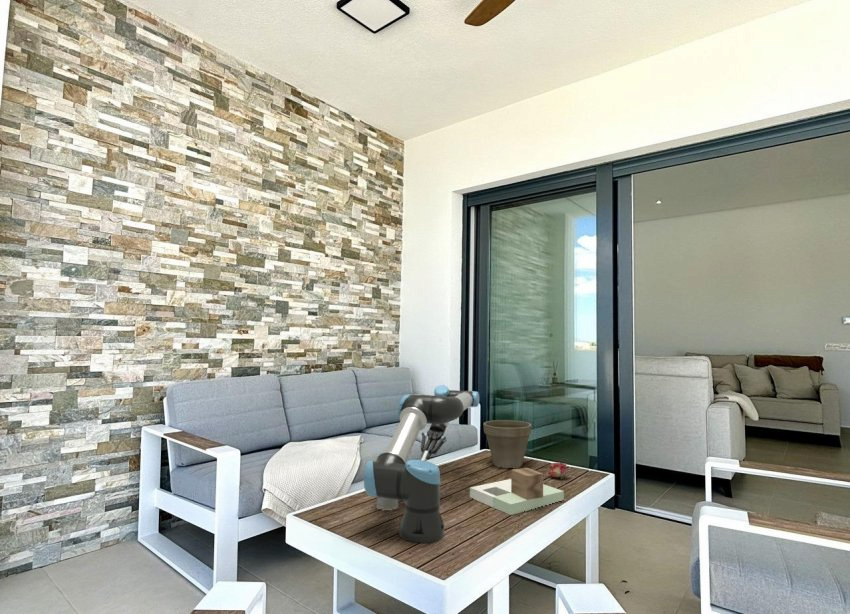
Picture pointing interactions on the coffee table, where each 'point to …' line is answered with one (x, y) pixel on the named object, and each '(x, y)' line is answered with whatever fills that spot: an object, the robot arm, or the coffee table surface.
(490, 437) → the plant pot
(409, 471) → the robot arm
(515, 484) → the walnut block
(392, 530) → the coffee table surface
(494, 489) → the box
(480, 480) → the coffee table surface
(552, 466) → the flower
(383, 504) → the glass holder
